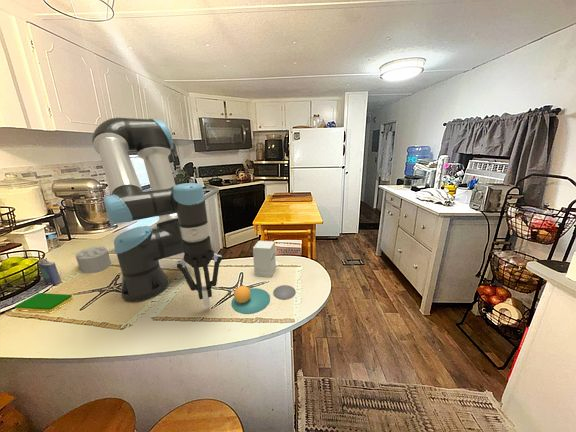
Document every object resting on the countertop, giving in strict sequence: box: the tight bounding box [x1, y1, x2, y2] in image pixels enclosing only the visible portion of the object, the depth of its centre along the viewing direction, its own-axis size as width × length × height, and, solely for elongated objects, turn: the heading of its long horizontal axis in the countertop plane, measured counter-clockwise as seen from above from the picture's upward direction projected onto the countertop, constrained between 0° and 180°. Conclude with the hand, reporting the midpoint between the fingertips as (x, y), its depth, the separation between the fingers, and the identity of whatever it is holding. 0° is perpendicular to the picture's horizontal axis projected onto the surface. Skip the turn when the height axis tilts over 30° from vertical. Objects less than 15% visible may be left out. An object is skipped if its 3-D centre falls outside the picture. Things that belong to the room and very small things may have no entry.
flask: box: [37, 257, 62, 286], centre depth 89 cm, size 9×3×11 cm, turn 68°
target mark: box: [231, 287, 271, 315], centre depth 76 cm, size 13×13×1 cm
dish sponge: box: [14, 292, 74, 312], centre depth 77 cm, size 7×14×2 cm, turn 83°
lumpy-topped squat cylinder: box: [75, 245, 112, 274], centre depth 101 cm, size 10×13×9 cm
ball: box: [233, 285, 251, 303], centre depth 75 cm, size 6×6×6 cm
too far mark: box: [272, 284, 296, 301], centre depth 80 cm, size 8×8×1 cm
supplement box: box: [252, 240, 277, 278], centre depth 92 cm, size 7×7×13 cm
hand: (207, 305), depth 72 cm, fingers closed
